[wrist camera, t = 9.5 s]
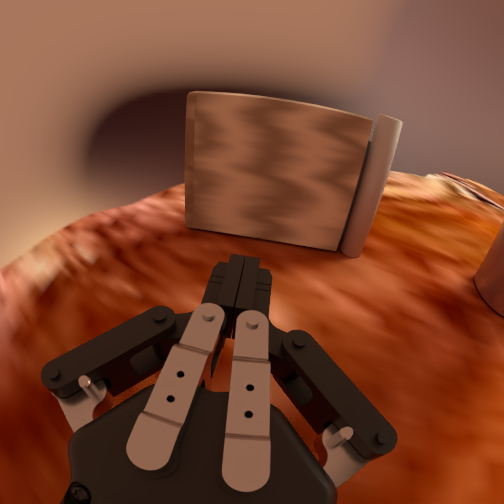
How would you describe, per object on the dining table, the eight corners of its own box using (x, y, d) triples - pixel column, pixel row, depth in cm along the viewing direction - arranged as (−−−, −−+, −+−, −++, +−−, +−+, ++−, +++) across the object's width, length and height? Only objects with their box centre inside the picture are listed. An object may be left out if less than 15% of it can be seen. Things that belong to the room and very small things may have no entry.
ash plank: (333, 240, 30) (367, 117, 22) (336, 251, 29) (373, 120, 20) (191, 217, 31) (194, 91, 23) (185, 227, 29) (187, 92, 21)
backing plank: (354, 233, 33) (388, 114, 24) (362, 259, 29) (406, 123, 20) (218, 211, 33) (228, 84, 24) (208, 234, 29) (216, 86, 20)
